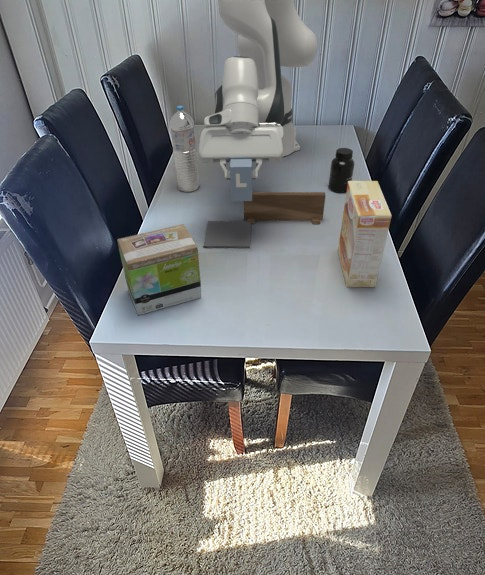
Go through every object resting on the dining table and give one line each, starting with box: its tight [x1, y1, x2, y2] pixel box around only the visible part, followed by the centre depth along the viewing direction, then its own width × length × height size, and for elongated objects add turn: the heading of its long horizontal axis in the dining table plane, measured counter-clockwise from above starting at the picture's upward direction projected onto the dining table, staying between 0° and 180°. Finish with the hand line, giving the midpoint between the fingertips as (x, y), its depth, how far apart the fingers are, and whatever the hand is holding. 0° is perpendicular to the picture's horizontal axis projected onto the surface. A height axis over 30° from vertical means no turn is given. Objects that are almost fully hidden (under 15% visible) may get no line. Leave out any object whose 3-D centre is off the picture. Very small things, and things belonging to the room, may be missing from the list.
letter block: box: [229, 158, 253, 202], centre depth 108 cm, size 5×5×9 cm
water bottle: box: [169, 104, 200, 193], centre depth 132 cm, size 7×7×25 cm
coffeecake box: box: [337, 180, 392, 288], centre depth 102 cm, size 15×7×20 cm, turn 178°
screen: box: [243, 191, 327, 225], centre depth 123 cm, size 5×22×8 cm, turn 88°
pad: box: [203, 220, 252, 249], centre depth 120 cm, size 12×12×1 cm
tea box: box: [117, 223, 202, 316], centre depth 98 cm, size 15×10×15 cm, turn 114°
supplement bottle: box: [328, 147, 355, 194], centre depth 134 cm, size 7×7×12 cm
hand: (241, 179), depth 107 cm, fingers closed on letter block, 5 cm apart
